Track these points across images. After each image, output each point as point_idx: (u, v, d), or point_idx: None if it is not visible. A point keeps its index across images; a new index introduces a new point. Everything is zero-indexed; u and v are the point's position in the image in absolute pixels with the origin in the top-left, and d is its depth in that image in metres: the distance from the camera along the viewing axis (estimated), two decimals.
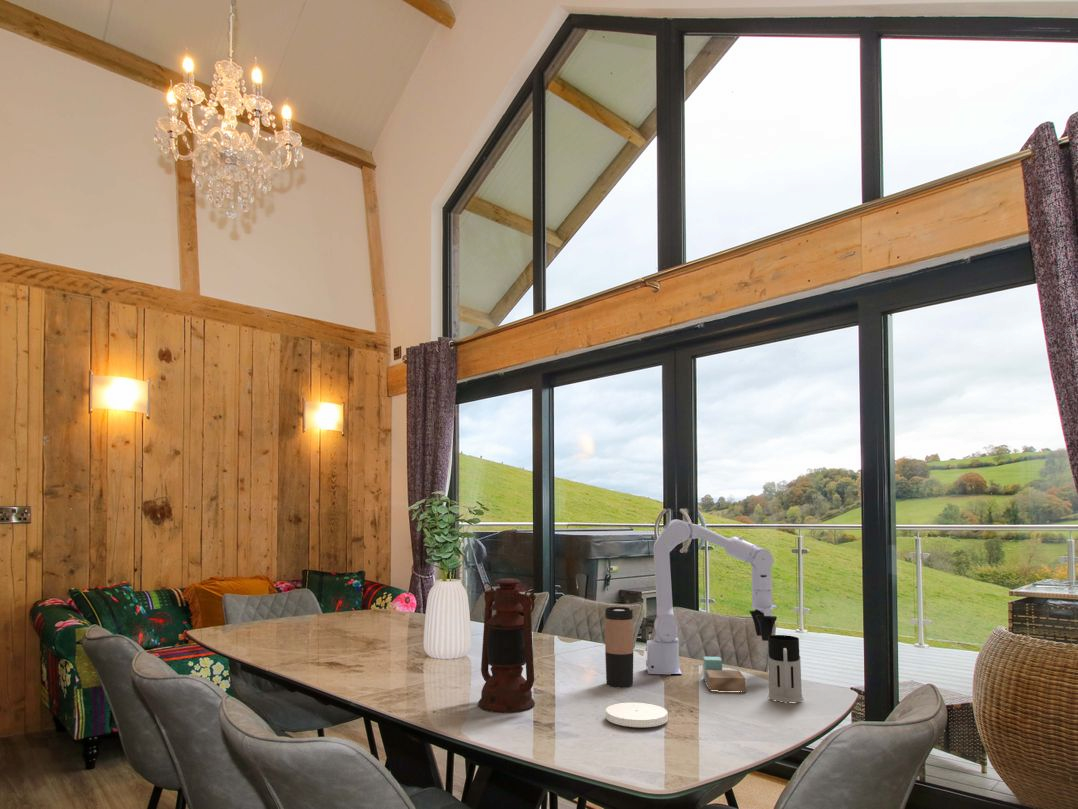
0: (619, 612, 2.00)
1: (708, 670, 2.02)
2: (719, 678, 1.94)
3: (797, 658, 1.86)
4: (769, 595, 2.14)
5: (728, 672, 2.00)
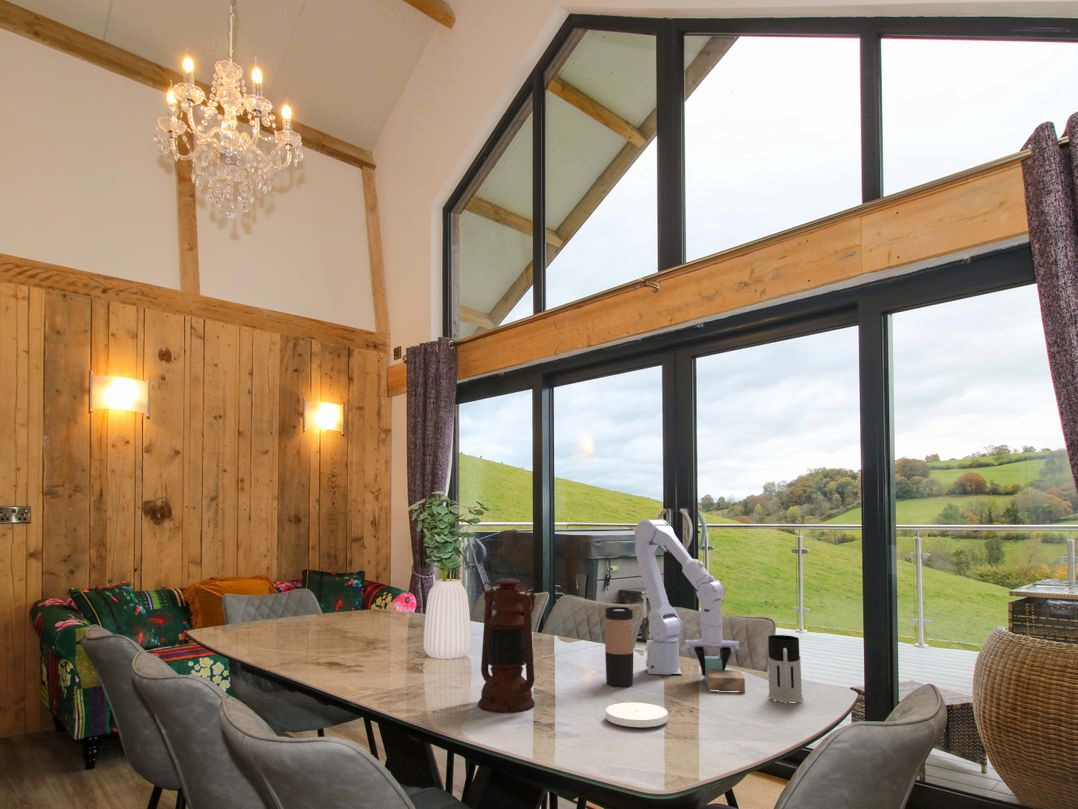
0: (619, 612, 2.00)
1: (709, 670, 2.02)
2: (718, 678, 1.94)
3: (797, 658, 1.86)
4: (704, 630, 2.06)
5: (728, 672, 2.00)
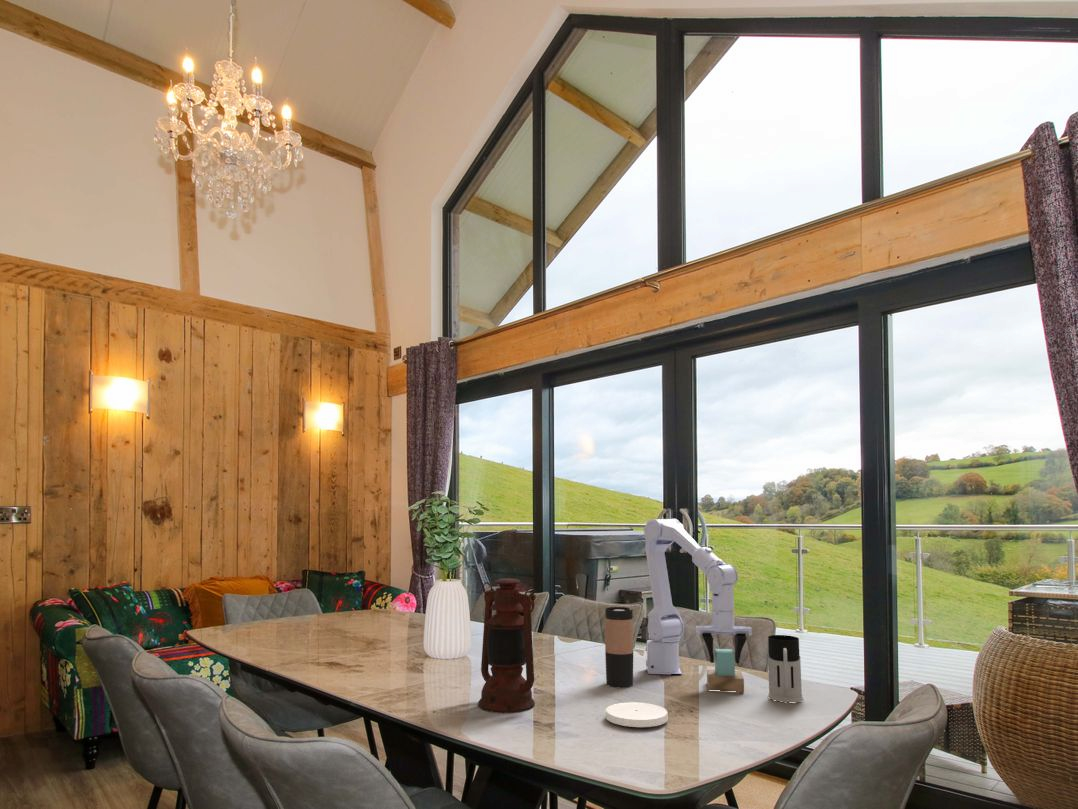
0: (619, 612, 2.00)
1: (709, 670, 2.02)
2: (717, 678, 1.94)
3: (797, 658, 1.86)
4: (715, 615, 1.99)
5: None
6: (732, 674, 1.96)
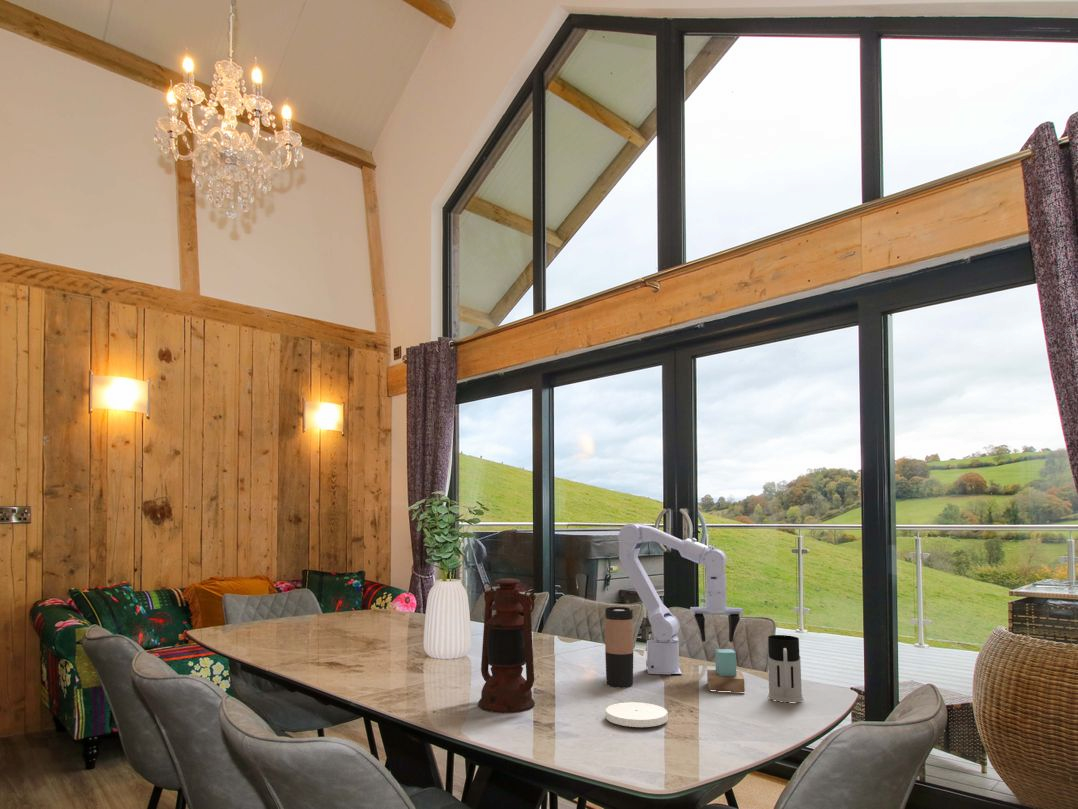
0: (619, 612, 2.00)
1: (710, 670, 2.02)
2: (718, 678, 1.94)
3: (797, 658, 1.86)
4: (708, 597, 2.11)
5: None
6: (733, 674, 1.96)
